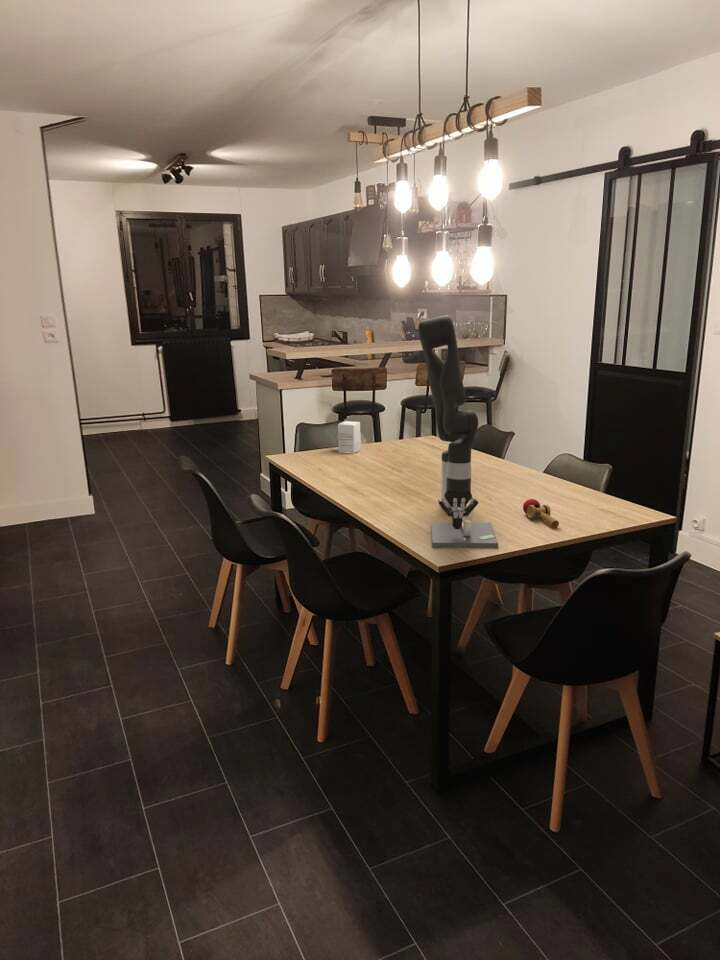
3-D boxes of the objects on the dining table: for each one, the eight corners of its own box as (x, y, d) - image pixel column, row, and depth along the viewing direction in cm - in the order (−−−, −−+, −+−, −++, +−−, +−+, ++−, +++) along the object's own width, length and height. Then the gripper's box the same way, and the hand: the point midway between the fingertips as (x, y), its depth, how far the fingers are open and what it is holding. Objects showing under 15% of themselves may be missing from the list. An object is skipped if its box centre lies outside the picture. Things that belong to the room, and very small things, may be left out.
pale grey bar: (456, 522, 225) (456, 509, 224) (465, 522, 225) (465, 509, 224) (462, 536, 211) (463, 522, 210) (472, 536, 211) (472, 522, 210)
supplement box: (345, 449, 348) (344, 420, 344) (361, 450, 344) (360, 421, 341) (338, 453, 340) (337, 423, 336) (354, 454, 336) (353, 424, 333)
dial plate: (430, 526, 227) (430, 521, 227) (490, 526, 226) (491, 521, 225) (432, 547, 208) (432, 542, 208) (498, 547, 207) (498, 542, 206)
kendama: (566, 530, 225) (537, 508, 241) (565, 514, 222) (537, 492, 238) (545, 537, 223) (518, 514, 239) (545, 520, 221) (517, 498, 236)
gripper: (439, 478, 204) (437, 533, 208) (482, 478, 204) (480, 532, 209) (435, 472, 211) (434, 525, 216) (477, 472, 211) (475, 524, 216)
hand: (457, 528), depth 212 cm, fingers closed
